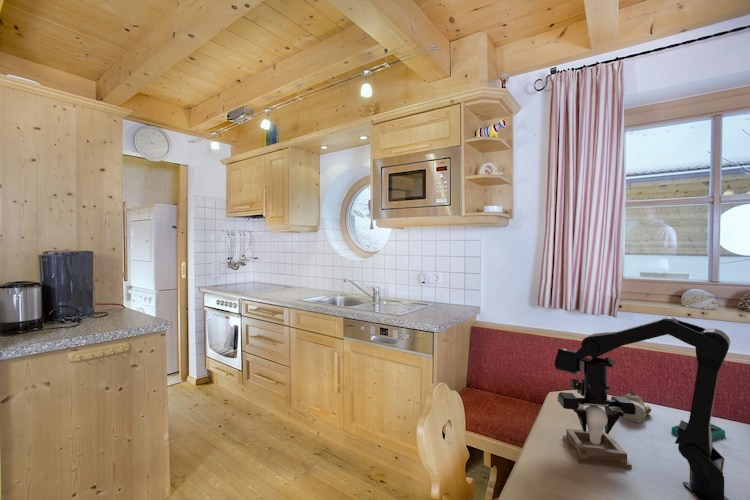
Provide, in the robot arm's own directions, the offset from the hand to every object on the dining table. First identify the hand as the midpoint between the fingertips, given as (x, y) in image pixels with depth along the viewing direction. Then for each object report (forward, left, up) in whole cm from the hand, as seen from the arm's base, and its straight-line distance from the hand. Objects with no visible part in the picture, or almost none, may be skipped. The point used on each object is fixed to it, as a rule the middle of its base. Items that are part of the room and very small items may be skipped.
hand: (595, 432), depth 102 cm
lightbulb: (0, 0, -4) cm, 4 cm away
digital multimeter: (+18, -37, -7) cm, 41 cm away
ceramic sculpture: (+28, -23, -6) cm, 37 cm away
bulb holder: (0, 0, -6) cm, 6 cm away
